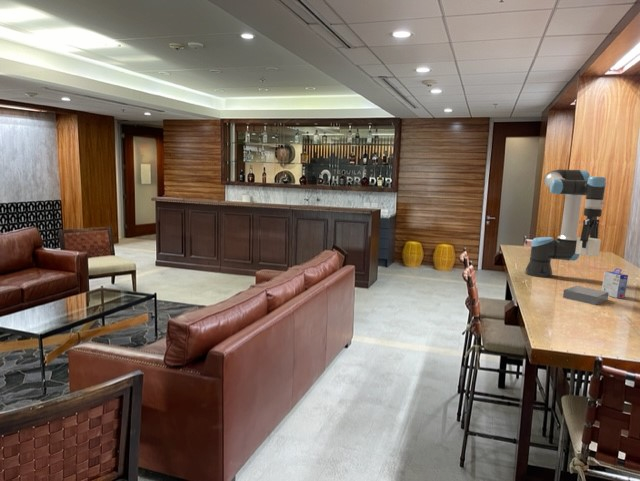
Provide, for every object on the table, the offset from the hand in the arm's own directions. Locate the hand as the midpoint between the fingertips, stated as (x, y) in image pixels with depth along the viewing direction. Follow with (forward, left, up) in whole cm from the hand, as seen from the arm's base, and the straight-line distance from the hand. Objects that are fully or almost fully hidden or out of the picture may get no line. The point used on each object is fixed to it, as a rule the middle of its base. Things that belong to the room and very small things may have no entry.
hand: (587, 253), depth 227 cm
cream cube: (0, 0, 0) cm, 0 cm away
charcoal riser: (0, +2, -23) cm, 23 cm away
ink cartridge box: (-20, +8, -23) cm, 31 cm away
